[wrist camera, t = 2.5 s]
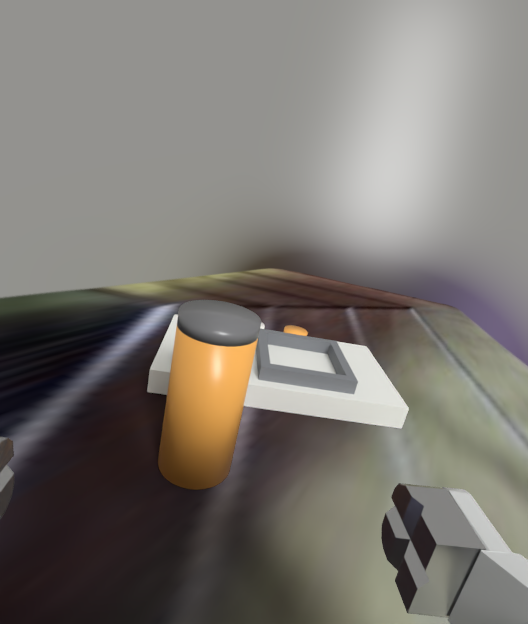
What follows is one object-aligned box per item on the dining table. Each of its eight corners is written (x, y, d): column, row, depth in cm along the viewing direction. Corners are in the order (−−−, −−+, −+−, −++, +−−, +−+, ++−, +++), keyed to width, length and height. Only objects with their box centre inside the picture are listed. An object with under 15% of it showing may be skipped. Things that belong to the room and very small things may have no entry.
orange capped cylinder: (150, 484, 23) (172, 323, 20) (165, 434, 27) (184, 295, 24) (229, 493, 23) (263, 338, 20) (231, 443, 28) (259, 308, 24)
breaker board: (147, 391, 31) (151, 355, 30) (172, 331, 42) (176, 303, 41) (401, 428, 34) (413, 395, 33) (361, 362, 45) (369, 336, 44)
